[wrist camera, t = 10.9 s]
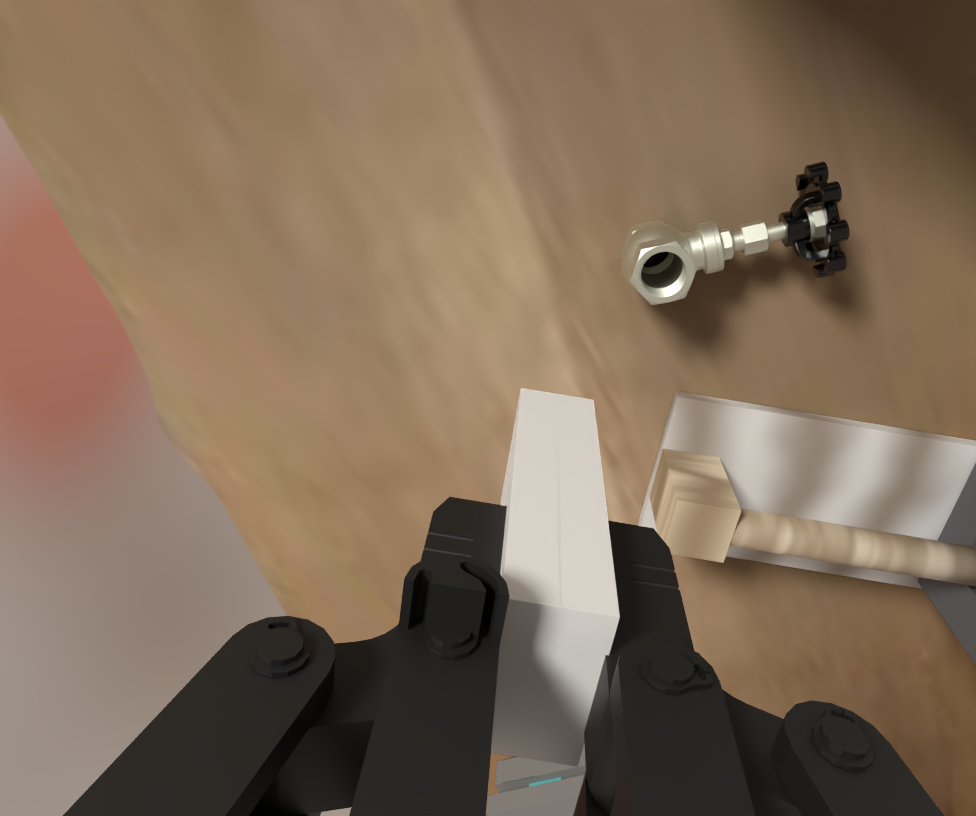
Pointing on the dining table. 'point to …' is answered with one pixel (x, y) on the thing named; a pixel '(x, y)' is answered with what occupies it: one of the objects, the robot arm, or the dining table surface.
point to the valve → (738, 241)
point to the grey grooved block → (536, 788)
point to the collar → (961, 606)
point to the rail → (808, 492)
